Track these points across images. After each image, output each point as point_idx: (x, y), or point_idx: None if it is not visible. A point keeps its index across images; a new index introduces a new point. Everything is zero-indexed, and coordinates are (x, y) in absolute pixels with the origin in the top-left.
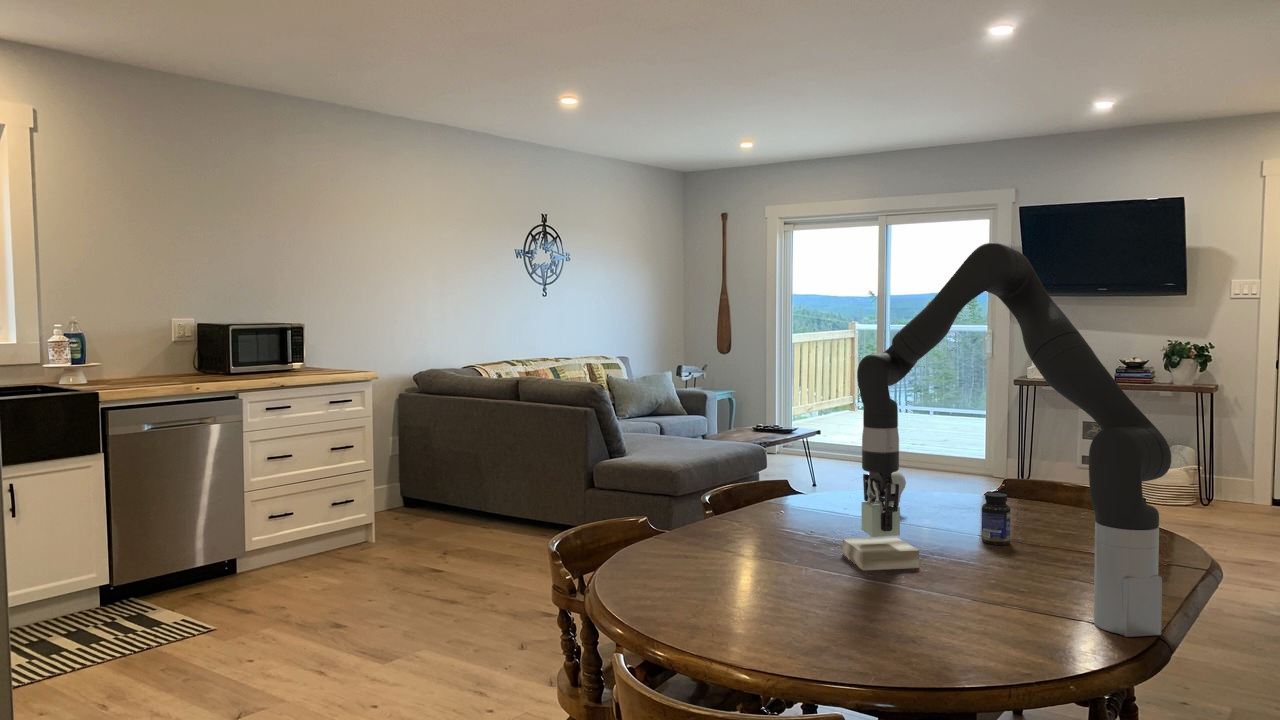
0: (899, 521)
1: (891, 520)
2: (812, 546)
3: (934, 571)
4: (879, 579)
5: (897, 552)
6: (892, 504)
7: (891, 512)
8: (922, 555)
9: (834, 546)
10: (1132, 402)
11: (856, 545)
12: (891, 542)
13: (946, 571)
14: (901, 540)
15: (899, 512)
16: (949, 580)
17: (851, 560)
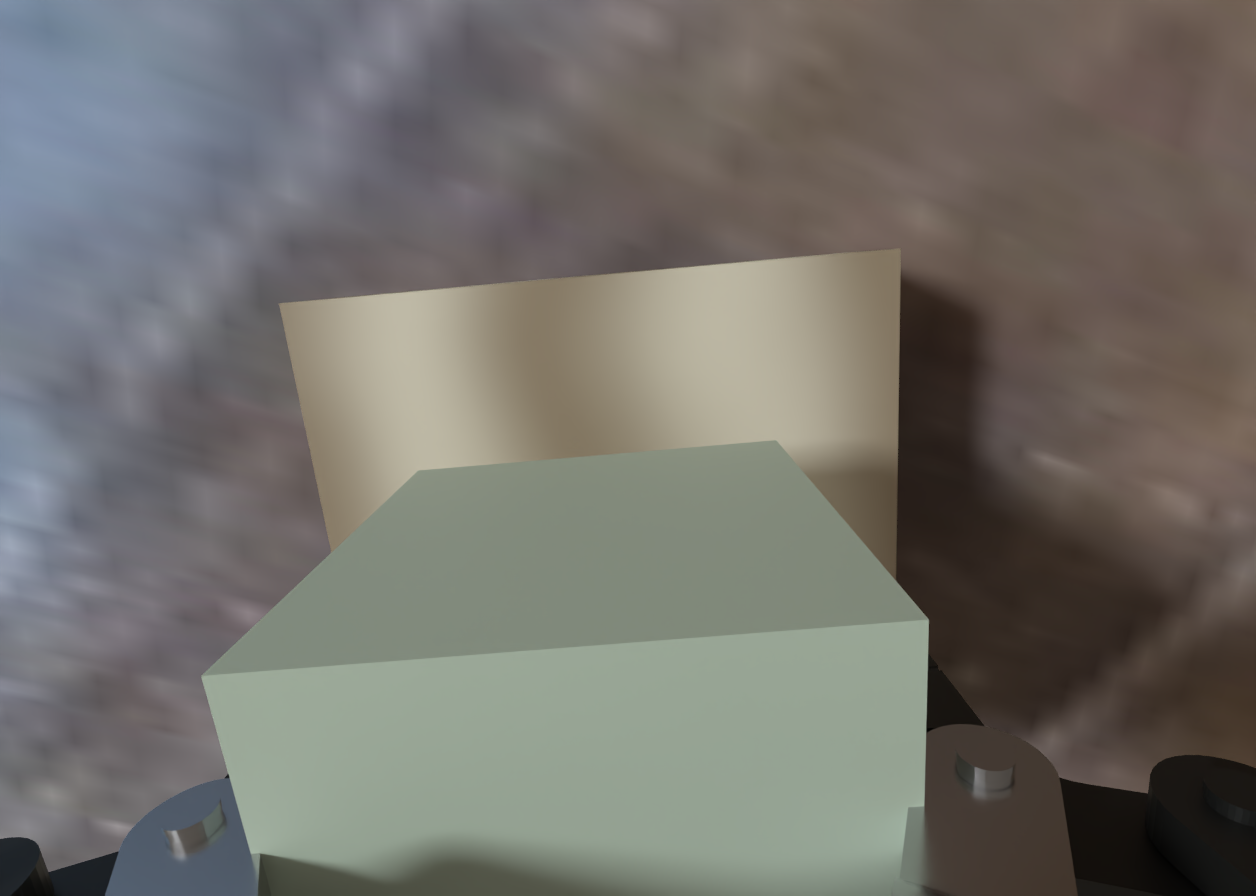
0: (823, 503)
1: (946, 684)
2: None
3: (971, 155)
4: (1084, 644)
5: (893, 478)
6: (1068, 886)
7: (1076, 804)
8: (441, 68)
9: (172, 716)
10: None
11: None
12: (539, 429)
13: (992, 39)
14: (456, 295)
15: (878, 568)
16: (1250, 124)
17: None
